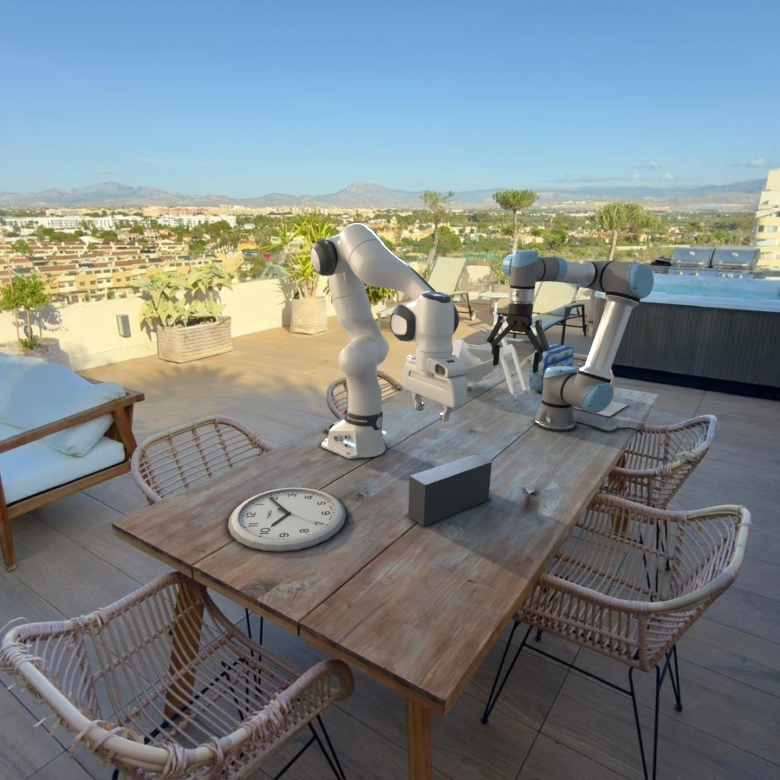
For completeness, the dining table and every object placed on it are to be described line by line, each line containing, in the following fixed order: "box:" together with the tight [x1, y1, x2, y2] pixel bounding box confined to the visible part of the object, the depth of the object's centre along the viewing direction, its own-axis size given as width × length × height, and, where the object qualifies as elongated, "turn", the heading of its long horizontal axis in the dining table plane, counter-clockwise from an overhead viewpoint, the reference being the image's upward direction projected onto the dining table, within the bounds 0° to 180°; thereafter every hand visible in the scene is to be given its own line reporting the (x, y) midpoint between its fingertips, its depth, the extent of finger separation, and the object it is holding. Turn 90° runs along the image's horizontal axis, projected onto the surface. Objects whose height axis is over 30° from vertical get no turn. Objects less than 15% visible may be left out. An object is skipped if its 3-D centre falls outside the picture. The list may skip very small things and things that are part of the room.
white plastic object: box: [452, 310, 531, 400], centre depth 245 cm, size 37×45×31 cm
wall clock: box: [227, 487, 347, 552], centre depth 136 cm, size 30×2×30 cm
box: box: [407, 453, 493, 527], centre depth 141 cm, size 24×6×12 cm, turn 127°
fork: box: [525, 478, 537, 511], centre depth 148 cm, size 3×16×2 cm, turn 160°
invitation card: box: [573, 400, 629, 418], centre depth 226 cm, size 21×1×15 cm
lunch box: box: [528, 344, 574, 393], centre depth 247 cm, size 26×11×21 cm, turn 134°
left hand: (431, 415), depth 129 cm, fingers open, 8 cm apart
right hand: (514, 368), depth 168 cm, fingers open, 13 cm apart
